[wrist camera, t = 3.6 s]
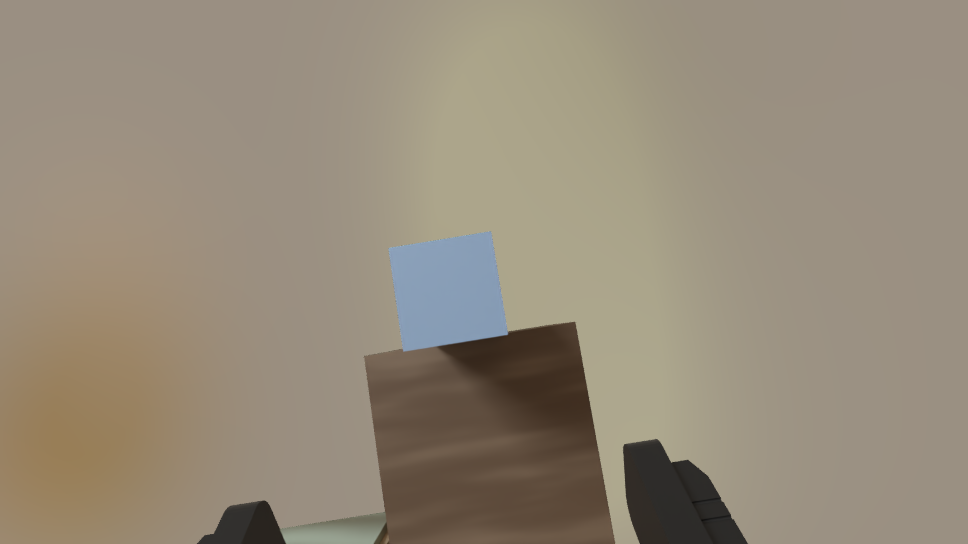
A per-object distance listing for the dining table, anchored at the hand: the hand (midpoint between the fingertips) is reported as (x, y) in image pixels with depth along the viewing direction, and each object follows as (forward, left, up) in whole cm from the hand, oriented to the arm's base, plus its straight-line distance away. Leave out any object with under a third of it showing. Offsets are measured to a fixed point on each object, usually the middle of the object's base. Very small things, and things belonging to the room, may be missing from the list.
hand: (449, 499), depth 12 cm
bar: (-14, +14, +3) cm, 20 cm away
